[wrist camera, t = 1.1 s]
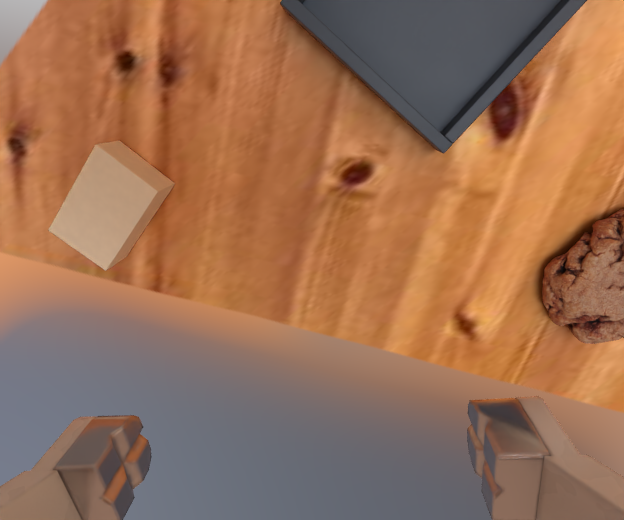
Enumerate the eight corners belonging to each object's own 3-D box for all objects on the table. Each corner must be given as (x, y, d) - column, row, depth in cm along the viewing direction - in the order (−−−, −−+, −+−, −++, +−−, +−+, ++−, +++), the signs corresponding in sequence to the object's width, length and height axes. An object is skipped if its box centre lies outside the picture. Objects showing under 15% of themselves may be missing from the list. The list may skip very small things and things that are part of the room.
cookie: (709, 212, 28) (749, 224, 25) (645, 339, 32) (674, 362, 29) (564, 195, 28) (588, 206, 25) (520, 323, 32) (536, 344, 29)
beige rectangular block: (73, 219, 32) (47, 230, 29) (119, 140, 29) (95, 143, 26) (126, 257, 33) (105, 271, 30) (175, 183, 30) (157, 191, 27)
